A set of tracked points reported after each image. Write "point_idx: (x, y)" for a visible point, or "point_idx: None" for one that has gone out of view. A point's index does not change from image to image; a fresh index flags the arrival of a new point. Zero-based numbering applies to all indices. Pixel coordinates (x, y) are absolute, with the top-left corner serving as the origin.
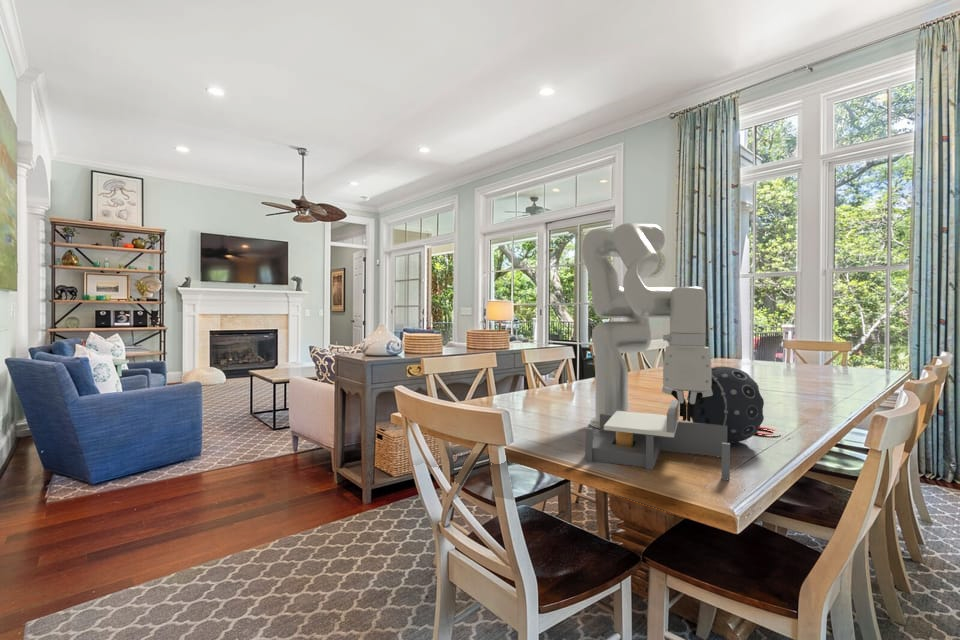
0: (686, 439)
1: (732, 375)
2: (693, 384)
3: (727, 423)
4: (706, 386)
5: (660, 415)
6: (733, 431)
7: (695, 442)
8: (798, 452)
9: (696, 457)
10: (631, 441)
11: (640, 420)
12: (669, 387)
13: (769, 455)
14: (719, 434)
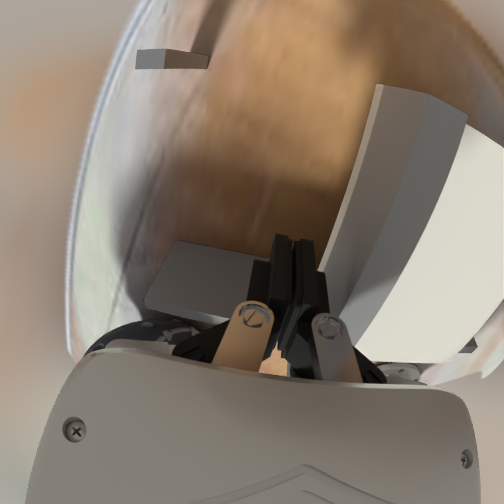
0: None
1: None
2: (227, 434)
3: (152, 339)
4: (96, 382)
5: None
6: (146, 322)
7: (245, 276)
8: (72, 293)
9: (250, 233)
10: None
11: (448, 280)
12: (442, 395)
13: (103, 273)
14: (173, 284)
